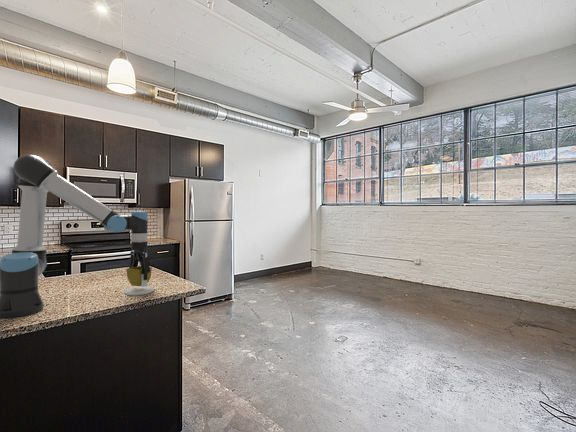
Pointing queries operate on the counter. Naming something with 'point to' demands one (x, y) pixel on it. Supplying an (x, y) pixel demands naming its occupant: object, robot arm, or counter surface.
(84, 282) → the counter surface
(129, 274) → the flower pot
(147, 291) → the white flat disc
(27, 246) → the robot arm
